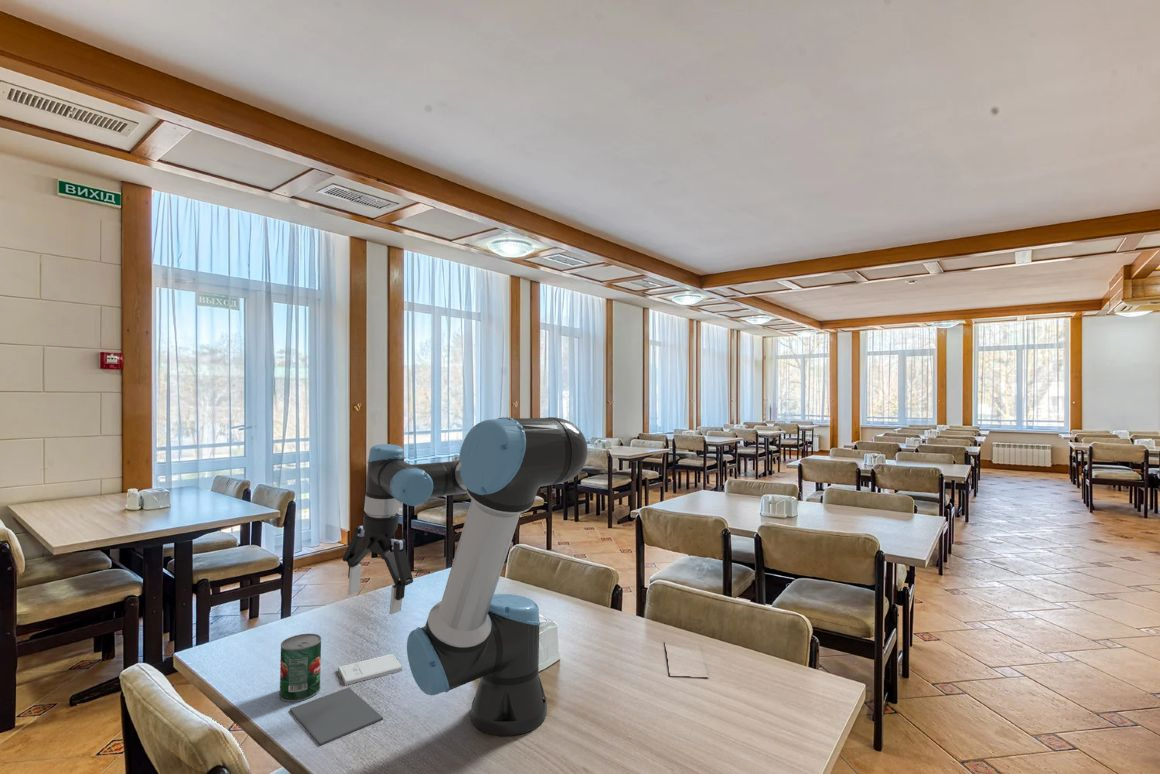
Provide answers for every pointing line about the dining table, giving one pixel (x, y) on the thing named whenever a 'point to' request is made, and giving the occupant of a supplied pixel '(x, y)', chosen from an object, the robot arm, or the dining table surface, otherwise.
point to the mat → (335, 715)
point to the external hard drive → (369, 669)
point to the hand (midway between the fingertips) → (374, 602)
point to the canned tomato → (300, 667)
